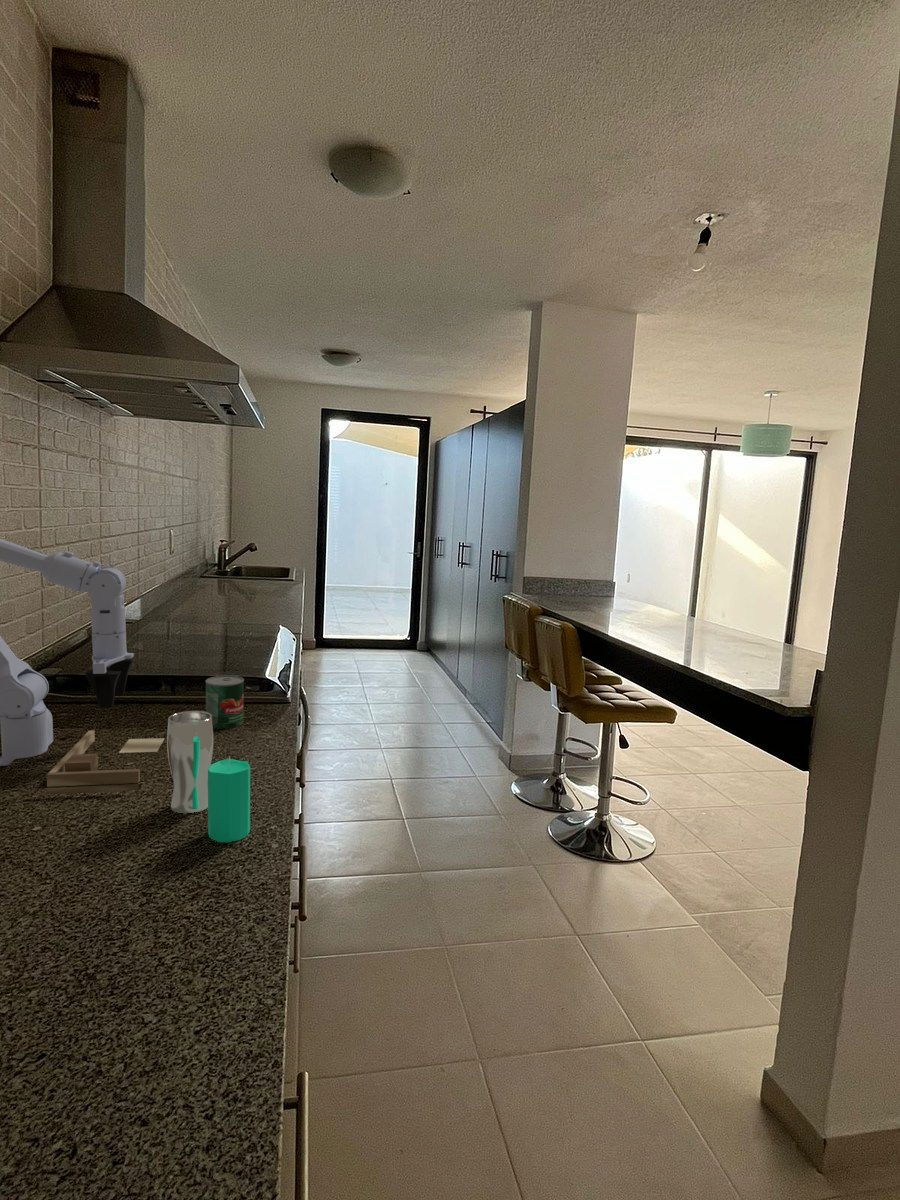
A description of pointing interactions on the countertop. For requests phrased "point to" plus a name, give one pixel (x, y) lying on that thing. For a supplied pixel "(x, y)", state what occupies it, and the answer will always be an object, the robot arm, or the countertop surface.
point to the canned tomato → (225, 701)
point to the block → (82, 763)
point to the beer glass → (190, 759)
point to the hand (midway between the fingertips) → (112, 701)
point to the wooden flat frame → (99, 777)
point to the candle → (228, 800)
